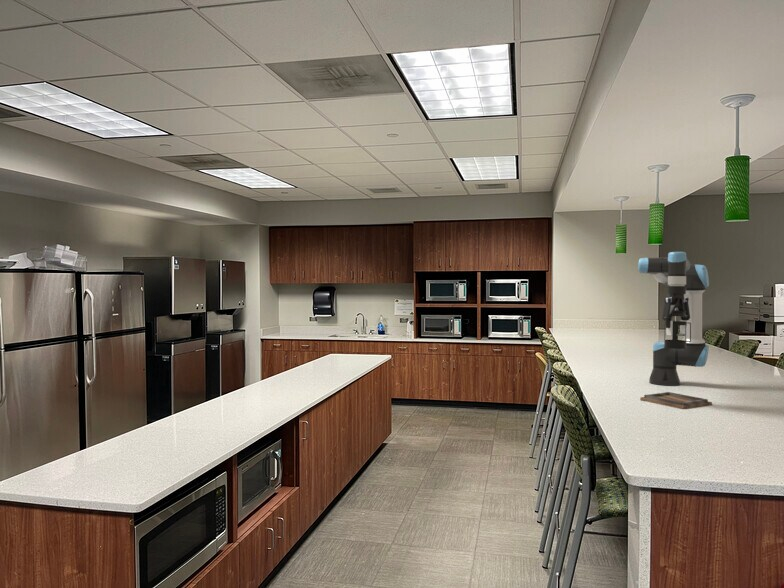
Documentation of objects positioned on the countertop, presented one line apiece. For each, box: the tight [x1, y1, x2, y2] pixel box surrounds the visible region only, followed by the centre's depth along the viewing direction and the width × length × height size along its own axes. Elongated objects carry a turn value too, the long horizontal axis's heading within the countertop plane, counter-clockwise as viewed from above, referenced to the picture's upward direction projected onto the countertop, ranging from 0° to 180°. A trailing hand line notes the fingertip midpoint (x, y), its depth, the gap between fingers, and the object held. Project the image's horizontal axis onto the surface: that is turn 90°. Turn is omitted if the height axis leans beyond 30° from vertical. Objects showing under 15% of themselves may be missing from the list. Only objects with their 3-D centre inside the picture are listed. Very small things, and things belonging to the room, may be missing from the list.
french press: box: [663, 298, 691, 349], centre depth 265 cm, size 12×9×23 cm
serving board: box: [640, 391, 713, 410], centre depth 265 cm, size 20×22×2 cm
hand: (676, 334), depth 265 cm, fingers closed on french press, 9 cm apart
